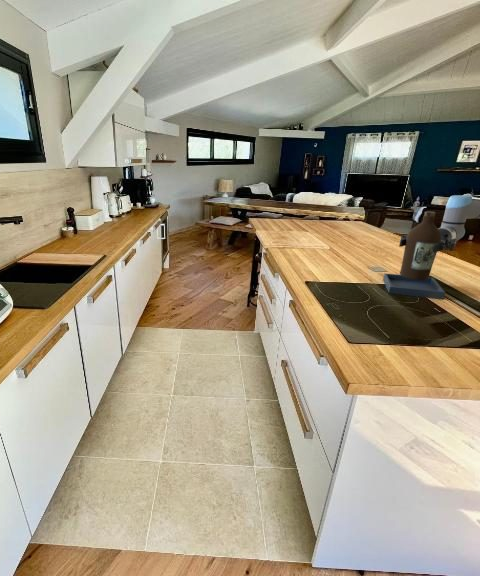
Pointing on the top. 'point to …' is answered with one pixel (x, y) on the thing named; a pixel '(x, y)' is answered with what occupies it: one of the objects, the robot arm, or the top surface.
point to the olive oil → (420, 249)
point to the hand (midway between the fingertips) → (417, 246)
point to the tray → (413, 286)
